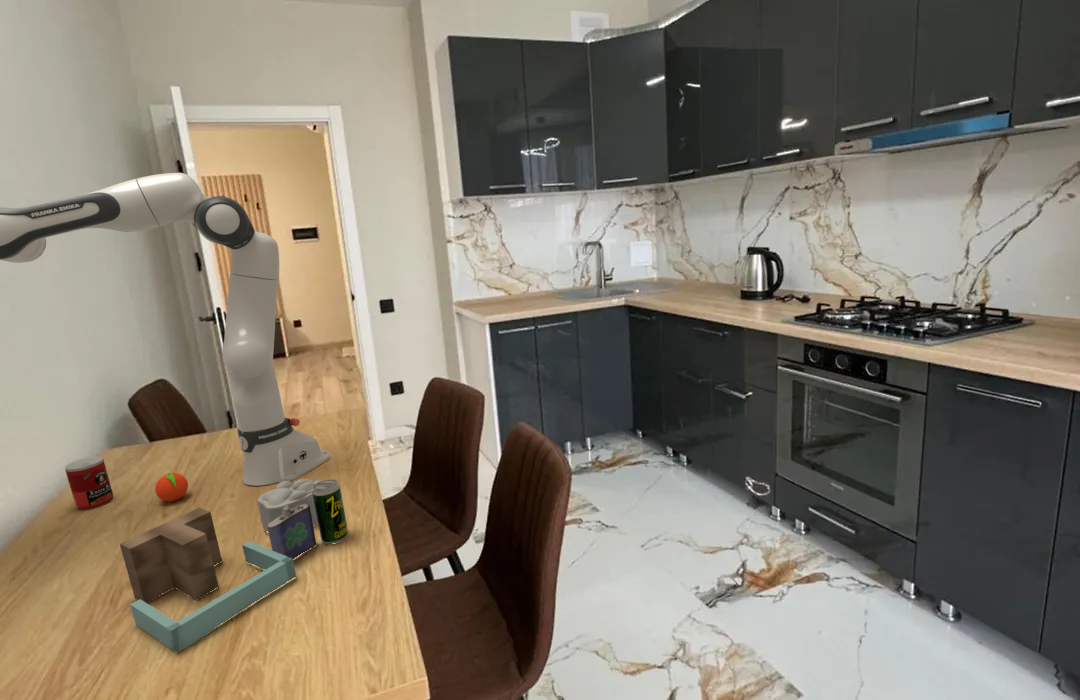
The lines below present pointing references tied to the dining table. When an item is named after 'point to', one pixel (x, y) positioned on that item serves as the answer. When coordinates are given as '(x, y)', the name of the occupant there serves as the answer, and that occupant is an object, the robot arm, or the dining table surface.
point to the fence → (217, 601)
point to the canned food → (89, 482)
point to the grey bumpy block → (286, 500)
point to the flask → (292, 531)
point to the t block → (174, 557)
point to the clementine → (171, 487)
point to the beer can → (330, 511)
